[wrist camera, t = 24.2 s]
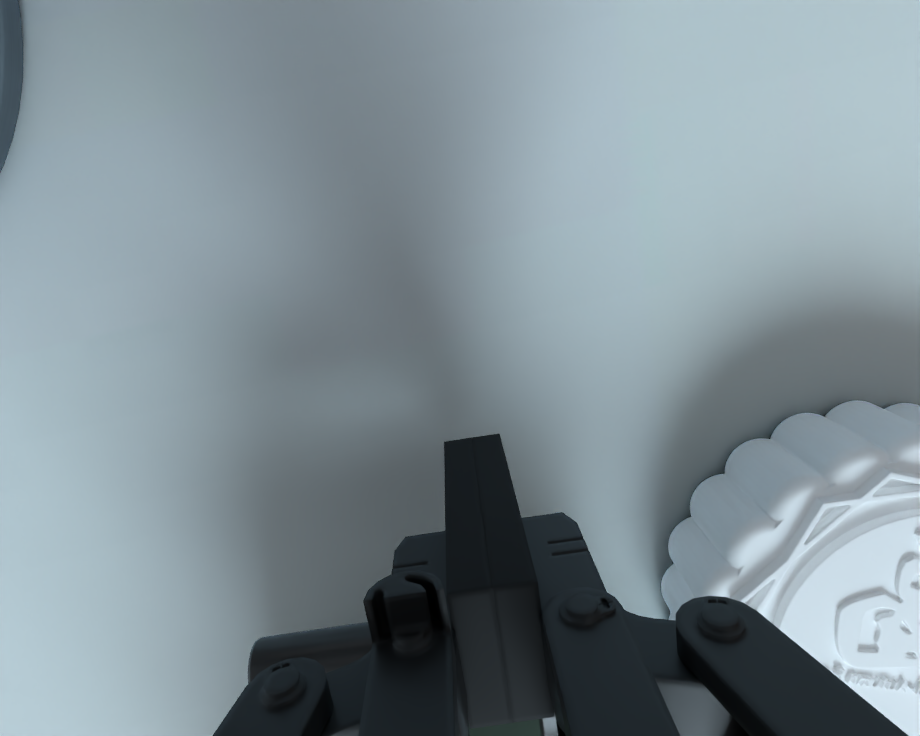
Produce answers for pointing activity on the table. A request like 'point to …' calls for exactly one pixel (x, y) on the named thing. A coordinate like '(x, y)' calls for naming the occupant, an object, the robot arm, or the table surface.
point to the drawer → (349, 646)
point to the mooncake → (820, 545)
